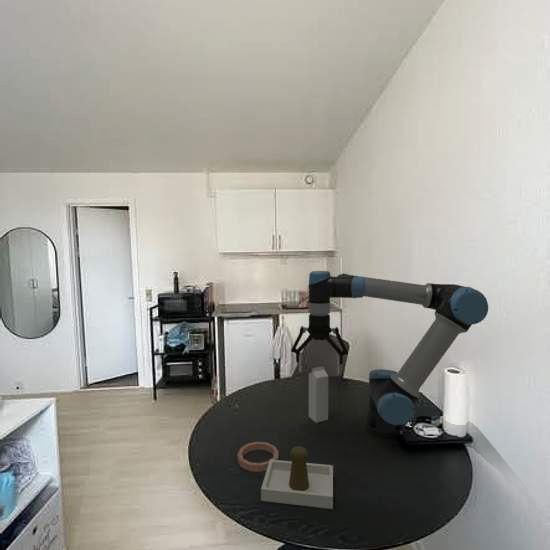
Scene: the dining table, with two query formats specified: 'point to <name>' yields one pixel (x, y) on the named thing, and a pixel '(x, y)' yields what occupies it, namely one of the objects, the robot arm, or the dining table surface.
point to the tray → (280, 492)
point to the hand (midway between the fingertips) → (319, 372)
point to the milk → (318, 394)
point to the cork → (299, 469)
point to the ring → (256, 446)
